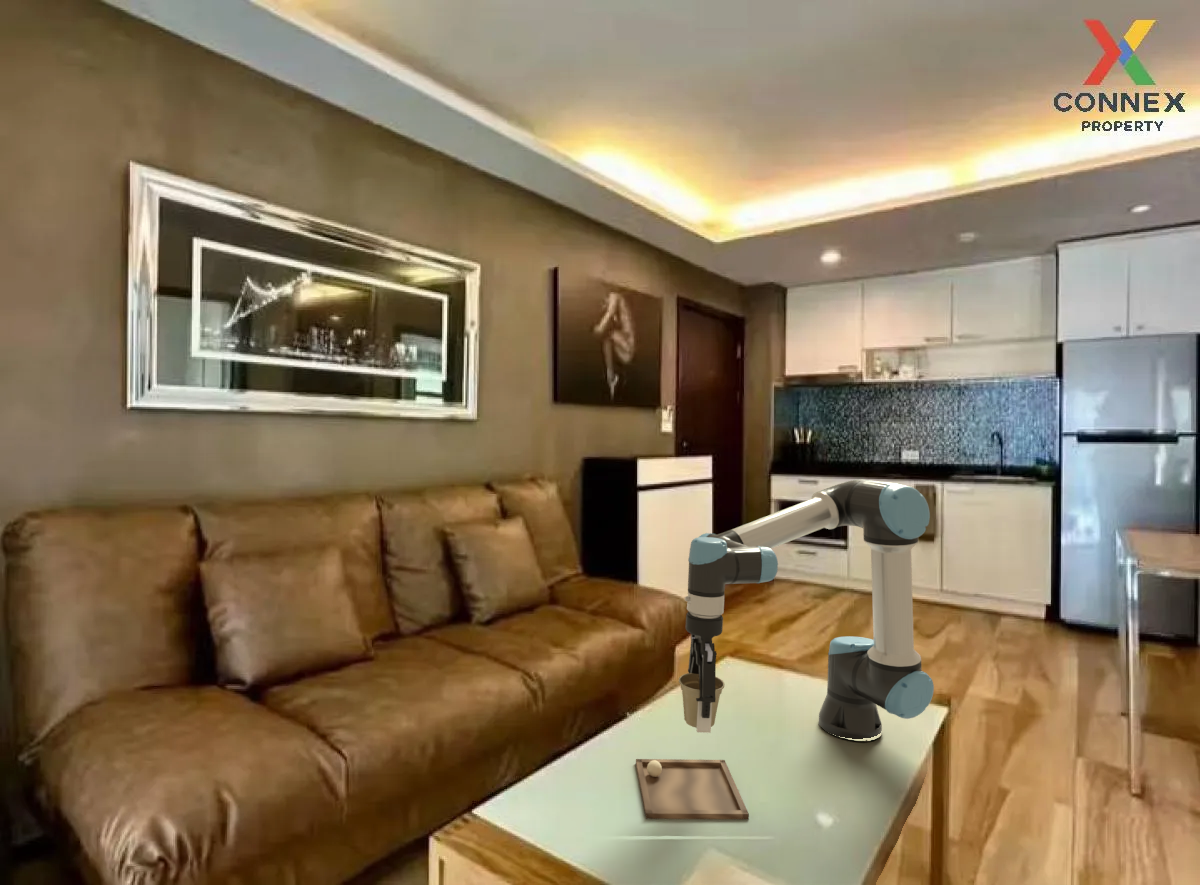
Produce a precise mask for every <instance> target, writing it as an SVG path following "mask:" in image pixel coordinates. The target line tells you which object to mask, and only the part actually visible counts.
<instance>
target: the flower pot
mask: <svg viewBox="0 0 1200 885" xmlns="http://www.w3.org/2000/svg"><path fill="white" fill-rule="evenodd" d="M678 683H679V685H680V689H681V691H682V692H681V694H682V695H681V696H682V705H683V717H684V718H683V719H684V721H685V723H686V724H687V725H689V726H690V727H693V728H695V729H697V712H698V701H696V698H699V697H700V690H699V674H693V673H689V672H687V673H684V674H682V675H680V676H679V678H678ZM724 688H725V682H724V680H723V679H722V678H720V677H718V676H716V675H715V698H716V700H715V702H712V715H711V728H712V727H713V726H714V725H715V722H716V717H717V711H718V706H719V702H720V696H721V694H723V693H722V692H723V689H724Z"/></svg>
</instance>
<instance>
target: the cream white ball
mask: <svg viewBox="0 0 1200 885" xmlns="http://www.w3.org/2000/svg"><path fill="white" fill-rule="evenodd" d="M647 771H648V773H649V775H651V776H652V777H657V776H659V775H660V774H661V772H662V766H661V764H660V763H659V762H658V761H656V760H653V761H650V762H649V763H648V766H647Z"/></svg>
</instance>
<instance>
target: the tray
mask: <svg viewBox="0 0 1200 885" xmlns="http://www.w3.org/2000/svg"><path fill="white" fill-rule="evenodd" d="M653 760H656V761H658V762H659V763H660V764H661V766H662V772H661V774H660V775H659V776H657V777H652V776H651V775H649V773H648V771H647V766H648V763H649V762H650V761H653ZM635 767H636V773H637V778H638V783H639V788H640V794H641V801H642V804H643V810H644V814H645V815H644V816H645V819H646V820H647V819H649V820H652V819H653V820H657V819H658V820H659V819H660V820H749V818H750V814H749V811H748V809H747V807H746V805H745V802H744V800H743V797H742V795H741V793H740V791H739V789H738V787H737V785H736V783H735V781H734V778H733V776H732V774H731V773H732V772H731V771H730V769H729V766H728V765H727V762H726V760H725V759H685V758H684V759H677V758H676V759H675V758H674V759H672V758H671V759H669V758H668V759H667V758H663V759H662V758H659V759H657V758H654V759H653V758H648V759H647V758H636V759H635Z"/></svg>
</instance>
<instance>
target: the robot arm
mask: <svg viewBox="0 0 1200 885" xmlns="http://www.w3.org/2000/svg"><path fill="white" fill-rule="evenodd" d="M930 517H931V514H930V508H929V504H928V502H927V499H926V498H925V496H924V495H923V493H920V491H919V490H918V489H916V488H914V487H913V486H908V485H905V484H901V483H898V482H897V483H896V482H888V481H887V482H886V481H878V480H869V479H861V478H859V479H853V480H848V481H845V482H841V483H838V484H835V485H832V486H830V487H827V488H823V489H822V490H819V491H816V492H815V493H813V494H812V496H811V498H810V499H807V500H804V501H802V502H800V503H797V504H795V505H792V506H788V507H786V508H784V509H781V510H778V511H775V512H773V513H771V514H769V515H767V516H763V517H760V518H758V519H756V520H753V521H751V522H748V523H745V524H742V525H740V526H737V527H735V528H732V529H729V530H726V531H724V532H721V533H718V534H716V533H709V532H708V533H707V532H706V533H703V534H700V535H699V536H698V537H695V538H692V540H691V542H690V548H689V552H688V553H689V554H688V555H689V556H688V575H687V576H688V577H687V578H688V579H687V580H688V581H687V596H684V601H685V602H687V603H686V610H687V613H686V614H685V615H686V616H685V630H686V631H687V633H688V634H690V648H689V659H688V668H687V673H693V674H699V690H700V697H699V698H696V701H698V712H697V728H696V733H707V734H708V733H709V734H711V731H712V727H711V715H712V702H715V700H716V698H715V676H716V668H717V667H716V665H717V664H716V663H717V662H716V661H717V650H715V643H714V642H713V638H714V637H719V636H720V635H722V633H723V626H724V617H723V614H724V611H725V610H724V609H725V590H726V585H734V584H735V585H736V584H760V583H767V582H770V581H773V580H774V579H775V578H776V576H777V573H778V571H779V569H778V566H779V563H778V558H777V555H776V553H775V551H774V550H773V549H774V548H777V547H780V546H781V545H785V544H787V543H789V542H791V541H794V540H797V539H799V538H801V537H804V536H807V535H809V534H812V533H814V532H817V531H820V530H822V529H826V530H827V529H828V530H834V529H836V528H838V527H844V526H849V527H859V528H860V529H861V528H862V529H863V534H862V535H863V541H864V542H865V544H866V545H867V546H868V547H870V558H871V559H870V562H871V564H870V566H871V567H870V568H871V569H870V570H871V588H872V589H871V594H872V595H871V596H872V597H871V598H872V599H871V601H872V629H873V632H872V633H873V639H872V638H867V637H862V636H852V635H851V636H849V635H848V636H847V635H846V636H838V637H834V638H833V639H831V640H830V643H829V650H828V654H827V655H828V656H827V660H828V661H827V683H826V686H827V690H826V691H827V692H826V696H825V697H824V700H823V702H822V705H821V707H820V710H819V713H818V726H819V727H820V726H821V727H822V728H823V729H824V730H825V731H824V730H823V729H822V728H821V727H820V728H821V729H822V730H823V731H824V732H826V731H827V732H829V733H831V734H834V735H836V736H840V737H845V738H852V739H863V738H871V737H874V736H877V735H878V734H880V733H881V731H882V732H883V727H882V725H883V724H882V721H881V718H880V713H879V710H878V707H880V708H882V709H884V710H885V711H886V712H887V713H889V714H891V715H894V716H896V717H898V718H901V719H907V720H908V719H910V720H911V719H913V718H916V717H918V716H919V715H922V714H923V712H924V711H926V709H927V708H928V707H929V706H930V704H931V701H932V699H933V695H934V690H935V686H934V685H935V684H934V682H933V679H932V677H931V676H930V675H929V674H928V673H927V672H925V671H923V670H922V656H921V654H920V653H918V652H917V650H915V649H914V648H915V647H914V646H915V645H914V639H915V638H914V611H913V610H914V608H913V606H914V605H913V604H914V603H913V574H912V573H913V568H912V565H913V564H912V549H914V547H915V546H917V545H918V544H919V537H921V536H923V534H925V532H926V530H927V528H926V527H928V526H929V524H930V519H931V518H930ZM877 706H878V707H877ZM827 732H826V733H827ZM829 733H828V734H829ZM831 734H830V735H831Z"/></svg>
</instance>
